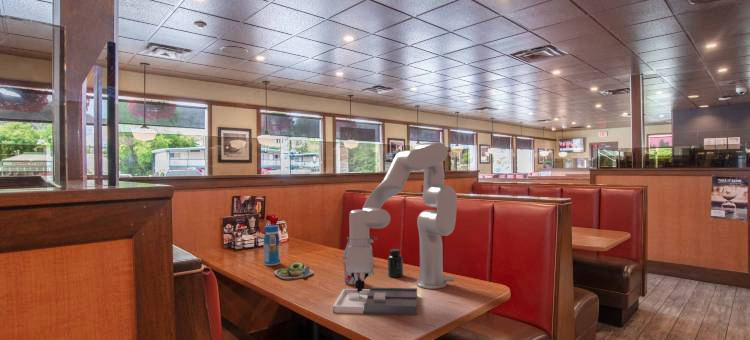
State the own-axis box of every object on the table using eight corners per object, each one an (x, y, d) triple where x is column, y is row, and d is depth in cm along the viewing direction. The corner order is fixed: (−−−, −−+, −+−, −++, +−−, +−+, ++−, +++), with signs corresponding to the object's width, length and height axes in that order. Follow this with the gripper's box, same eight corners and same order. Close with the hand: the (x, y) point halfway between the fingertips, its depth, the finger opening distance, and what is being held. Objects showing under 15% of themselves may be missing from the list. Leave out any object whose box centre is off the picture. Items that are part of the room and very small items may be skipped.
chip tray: (370, 294, 153) (369, 289, 153) (363, 313, 134) (362, 307, 134) (343, 294, 155) (343, 288, 155) (332, 312, 136) (332, 306, 136)
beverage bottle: (260, 265, 202) (259, 226, 202) (269, 261, 210) (268, 224, 210) (274, 266, 199) (274, 227, 199) (283, 262, 207) (282, 224, 207)
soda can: (358, 285, 165) (357, 257, 165) (342, 285, 167) (341, 257, 166) (362, 281, 172) (361, 253, 172) (346, 280, 173) (346, 253, 173)
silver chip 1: (349, 289, 151) (349, 295, 151) (348, 292, 147) (348, 299, 147) (360, 289, 150) (360, 296, 150) (358, 293, 146) (358, 299, 146)
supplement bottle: (402, 273, 183) (401, 248, 183) (403, 277, 176) (403, 251, 176) (387, 274, 182) (387, 248, 182) (388, 278, 176) (388, 251, 176)
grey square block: (386, 299, 141) (385, 292, 140) (385, 303, 137) (384, 296, 137) (375, 299, 141) (374, 292, 141) (373, 303, 137) (373, 296, 137)
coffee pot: (337, 262, 206) (337, 234, 206) (351, 258, 215) (351, 230, 215) (370, 268, 193) (369, 238, 193) (383, 263, 203) (383, 234, 202)
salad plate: (322, 277, 179) (321, 267, 179) (284, 284, 170) (284, 273, 170) (306, 268, 196) (306, 259, 196) (271, 273, 187) (271, 264, 187)
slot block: (417, 296, 151) (416, 288, 151) (416, 315, 132) (416, 306, 132) (371, 294, 153) (370, 287, 153) (364, 313, 134) (364, 304, 134)
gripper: (380, 240, 151) (380, 287, 152) (342, 240, 153) (342, 286, 153) (377, 244, 144) (378, 294, 144) (338, 244, 146) (338, 293, 146)
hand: (360, 290), depth 149 cm, fingers closed
